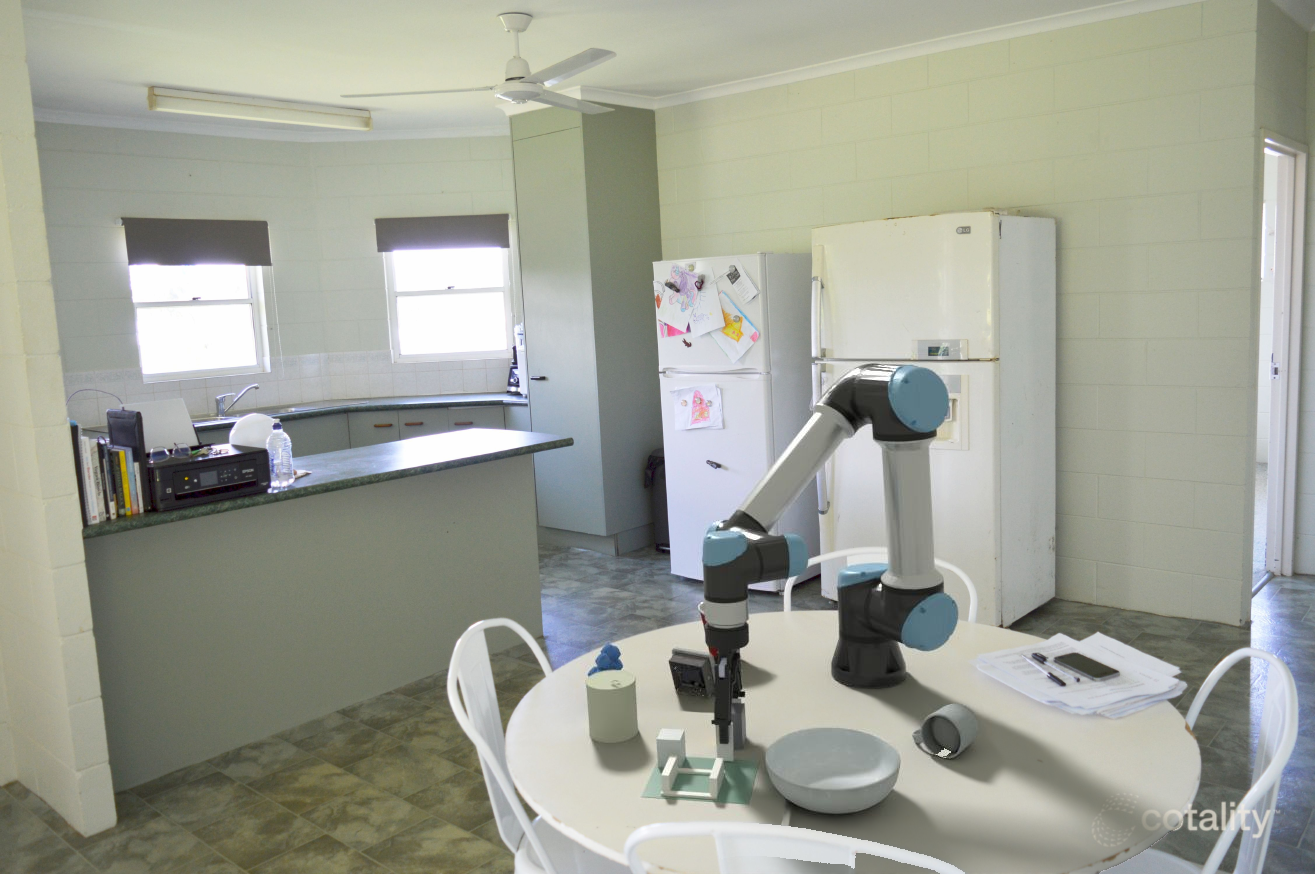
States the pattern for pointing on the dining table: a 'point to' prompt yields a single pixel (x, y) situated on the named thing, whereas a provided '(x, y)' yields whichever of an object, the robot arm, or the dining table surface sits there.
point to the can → (612, 706)
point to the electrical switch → (693, 672)
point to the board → (703, 780)
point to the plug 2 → (738, 725)
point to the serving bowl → (833, 768)
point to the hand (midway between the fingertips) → (730, 746)
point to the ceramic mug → (948, 730)
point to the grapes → (607, 660)
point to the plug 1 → (671, 746)
